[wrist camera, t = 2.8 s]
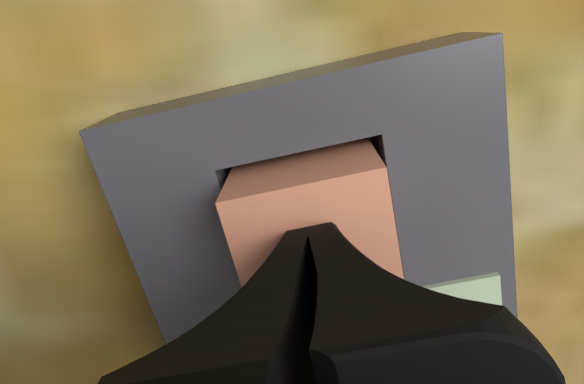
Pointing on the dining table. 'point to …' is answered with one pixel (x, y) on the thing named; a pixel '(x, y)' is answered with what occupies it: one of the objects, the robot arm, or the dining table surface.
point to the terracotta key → (310, 203)
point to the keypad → (311, 135)
